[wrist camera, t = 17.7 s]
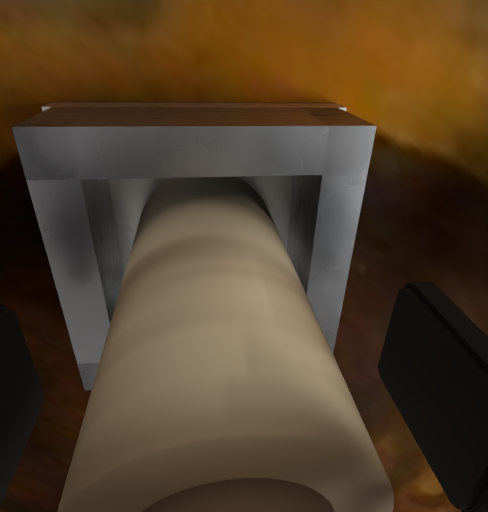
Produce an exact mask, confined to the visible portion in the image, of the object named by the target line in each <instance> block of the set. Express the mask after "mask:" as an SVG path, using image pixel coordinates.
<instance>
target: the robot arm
mask: <svg viewBox="0 0 488 512" xmlns="http://www.w3.org/2000/svg"><path fill="white" fill-rule="evenodd" d="M378 369H379V374H380V377H381V379H382V381H383V383H384V385H385V386H386V388H387V390H388V392H389V394H390V395H391V397H392V399H393V401H394V402H395V404H396V406H397V408H398V410H399V411H400V413H401V415H402V417H403V418H404V420H405V422H406V424H407V426H408V427H409V429H410V431H411V433H412V435H413V436H414V438H415V440H416V442H417V443H418V445H419V447H420V449H421V451H422V452H423V454H424V456H425V458H426V459H427V461H428V463H429V465H430V467H431V468H432V470H433V472H434V474H435V476H436V477H437V479H438V481H439V483H440V484H441V486H442V488H443V490H444V492H445V493H446V495H447V497H448V499H449V500H450V502H451V503H452V505H453V506H454V507H456V508H457V509H461V511H462V512H488V337H487V336H486V335H485V334H484V333H483V332H482V331H481V330H480V329H479V328H478V327H477V326H476V325H475V324H474V323H473V322H472V321H471V320H470V319H469V318H468V317H467V316H466V315H465V314H464V313H463V312H462V311H461V310H460V309H459V308H458V307H457V306H456V305H455V304H454V303H453V302H452V301H451V300H450V299H449V298H448V297H447V296H446V295H445V294H444V293H443V292H442V291H441V290H440V289H439V288H438V287H437V286H436V285H435V284H434V283H432V282H414V283H407V284H406V285H405V287H404V289H400V290H399V292H398V295H397V298H396V302H395V306H394V309H393V313H392V317H391V320H390V324H389V328H388V331H387V335H386V339H385V342H384V346H383V350H382V353H381V357H380V361H379V365H378ZM42 403H43V390H42V387H41V384H40V381H39V378H38V375H37V373H36V370H35V367H34V364H33V361H32V359H31V356H30V353H29V350H28V347H27V344H26V342H25V339H24V336H23V333H22V330H21V327H20V325H19V322H18V319H17V316H16V314H15V312H14V311H13V310H8V309H7V307H6V306H4V305H2V304H0V506H1V504H2V501H3V499H4V496H5V494H6V491H7V489H8V487H9V484H10V482H11V479H12V477H13V474H14V472H15V470H16V467H17V465H18V462H19V460H20V457H21V455H22V453H23V450H24V448H25V445H26V443H27V440H28V438H29V436H30V433H31V431H32V428H33V426H34V423H35V421H36V419H37V416H38V414H39V411H40V409H41V406H42Z"/></svg>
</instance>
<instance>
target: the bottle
mask: <svg viewBox="0 0 488 512" xmlns="http://www.w3.org/2000/svg"><path fill="white" fill-rule="evenodd" d="M393 508H394V494H393V490H392V485H391V483H390V481H389V479H388V477H387V474H386V472H385V470H384V468H383V465H382V463H381V461H380V459H379V456H378V454H377V452H376V450H375V447H374V445H373V443H372V441H371V438H370V436H369V434H368V432H367V430H366V427H365V425H364V423H363V421H362V418H361V416H360V414H359V412H358V409H357V407H356V405H355V403H354V400H353V398H352V396H351V394H350V391H349V389H348V387H347V385H346V382H345V380H344V378H343V376H342V374H341V371H340V369H339V367H338V365H337V362H336V360H335V358H334V356H333V353H332V351H331V349H330V347H329V344H328V342H327V340H326V338H325V335H324V333H323V331H322V329H321V326H320V324H319V322H318V320H317V318H316V315H315V313H314V311H313V309H312V306H311V304H310V302H309V300H308V297H307V295H306V293H305V291H304V288H303V286H302V284H301V282H300V279H299V277H298V275H297V273H296V271H295V268H294V266H293V264H292V262H291V259H290V257H289V255H288V253H287V250H286V248H285V246H284V244H283V241H282V239H281V237H280V235H279V232H278V230H277V228H276V226H275V223H274V221H273V219H272V217H271V215H270V212H269V210H268V208H267V206H266V204H265V202H264V200H263V199H262V198H261V196H260V195H259V194H258V193H257V192H256V190H255V189H254V188H252V187H251V186H250V185H249V184H247V183H246V182H244V181H243V180H241V179H239V178H237V177H185V178H173V179H171V180H169V181H167V182H166V183H165V184H163V185H162V186H160V187H159V188H158V189H157V190H156V191H155V192H154V193H153V194H152V196H151V197H150V198H149V199H148V201H147V203H146V205H145V206H144V209H143V211H142V214H141V217H140V220H139V224H138V227H137V231H136V235H135V238H134V242H133V245H132V249H131V252H130V256H129V259H128V263H127V266H126V270H125V274H124V277H123V281H122V284H121V288H120V291H119V295H118V298H117V302H116V306H115V309H114V313H113V316H112V320H111V323H110V327H109V330H108V334H107V337H106V341H105V345H104V348H103V352H102V355H101V359H100V362H99V366H98V369H97V373H96V376H95V380H94V384H93V387H92V391H91V394H90V398H89V401H88V405H87V408H86V412H85V416H84V419H83V423H82V426H81V430H80V433H79V437H78V440H77V444H76V447H75V451H74V455H73V458H72V462H71V465H70V469H69V472H68V476H67V479H66V483H65V487H64V490H63V494H62V497H61V501H60V504H59V508H58V511H57V512H392V511H393Z"/></svg>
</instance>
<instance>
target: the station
mask: <svg viewBox="0 0 488 512" xmlns="http://www.w3.org/2000/svg"><path fill="white" fill-rule="evenodd" d="M12 130H13V134H14V138H15V141H16V145H17V148H18V152H19V156H20V159H21V163H22V166H23V170H24V174H25V177H26V181H27V184H28V188H29V192H30V195H31V199H32V202H33V206H34V210H35V213H36V217H37V220H38V224H39V228H40V231H41V235H42V238H43V242H44V245H45V249H46V253H47V256H48V260H49V263H50V267H51V271H52V274H53V278H54V281H55V285H56V289H57V292H58V296H59V299H60V303H61V307H62V310H63V314H64V317H65V321H66V325H67V328H68V332H69V335H70V339H71V342H72V346H73V350H74V353H75V357H76V360H77V364H78V368H79V371H80V375H81V378H82V382H83V386H84V389H85V390H92V387H93V384H94V380H95V376H96V373H97V369H98V366H99V362H100V359H101V355H102V352H103V348H104V345H105V341H106V337H107V334H108V330H109V327H110V323H111V320H112V316H113V313H114V309H115V306H116V302H117V298H118V295H119V291H120V288H121V284H122V281H123V277H124V274H125V270H126V266H127V263H128V259H129V256H130V252H131V249H132V245H133V242H134V238H135V235H136V231H137V227H138V224H139V220H140V217H141V214H142V211H143V209H144V206H145V205H146V203H147V201H148V199H149V198H150V197H151V196H152V194H153V193H154V192H155V191H156V190H157V189H158V188H159V187H160V186H162V185H163V184H165V183H166V182H167V181H169V180H171V179H173V178H185V177H237V178H239V179H241V180H243V181H244V182H246V183H247V184H249V185H250V186H251V187H252V188H254V189H255V190H256V192H257V193H258V194H259V195H260V196H261V198H262V199H263V200H264V202H265V204H266V206H267V208H268V210H269V212H270V215H271V217H272V219H273V221H274V223H275V226H276V228H277V230H278V232H279V235H280V237H281V239H282V241H283V244H284V246H285V248H286V250H287V253H288V255H289V257H290V259H291V262H292V264H293V266H294V268H295V271H296V273H297V275H298V277H299V279H300V282H301V284H302V286H303V288H304V291H305V293H306V295H307V297H308V300H309V302H310V304H311V306H312V309H313V311H314V313H315V315H316V318H317V320H318V322H319V324H320V326H321V329H322V331H323V333H324V335H325V338H326V340H327V342H328V344H329V347H330V349H331V351H332V353H333V351H334V346H335V341H336V336H337V330H338V325H339V320H340V315H341V310H342V304H343V299H344V294H345V289H346V283H347V278H348V273H349V268H350V262H351V257H352V252H353V247H354V241H355V236H356V231H357V226H358V220H359V215H360V210H361V205H362V199H363V194H364V189H365V184H366V178H367V173H368V168H369V163H370V157H371V152H372V147H373V142H374V136H375V131H376V125H374V124H372V123H369V122H367V121H365V120H363V119H361V118H359V117H357V116H354V115H352V114H350V113H348V112H346V107H344V106H341V105H339V104H337V103H173V102H51V103H49V104H46V105H44V106H42V112H40V113H38V114H36V115H34V116H32V117H30V118H28V119H26V120H24V121H22V122H20V123H18V124H16V125H14V126H12Z"/></svg>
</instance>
